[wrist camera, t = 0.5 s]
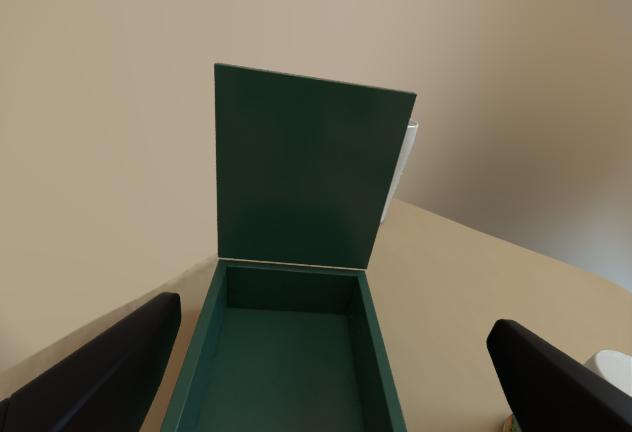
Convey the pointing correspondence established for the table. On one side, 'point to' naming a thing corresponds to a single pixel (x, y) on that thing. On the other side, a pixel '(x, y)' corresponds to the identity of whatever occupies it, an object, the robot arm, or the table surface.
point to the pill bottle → (606, 364)
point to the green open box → (285, 355)
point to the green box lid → (303, 165)
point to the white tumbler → (401, 161)
